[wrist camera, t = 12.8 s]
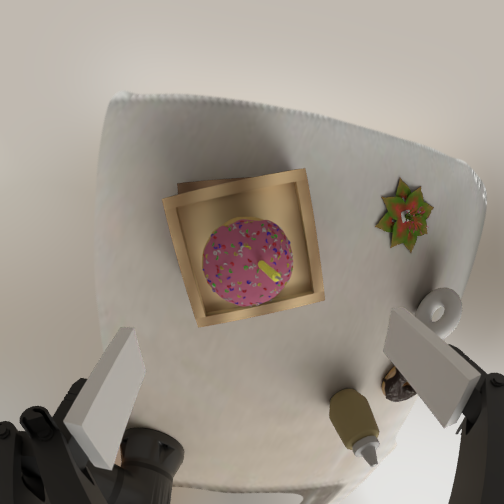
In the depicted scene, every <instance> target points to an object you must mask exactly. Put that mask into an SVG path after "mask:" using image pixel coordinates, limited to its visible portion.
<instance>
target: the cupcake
mask: <svg viewBox="0 0 504 504" xmlns="http://www.w3.org/2000/svg"><path fill="white" fill-rule="evenodd" d="M289 242H290V241H289V240H288V238H287V237H286V235H285V233H284V231H283V230H282V228H281V227H279V226H278V225H277V224H275V223H274V222H272V221H270V220H263V219H260V218H257V217H236V218H233V219H231V220H229V221H227V222H226V223H224V224H223V225H221V226H220V227H219V228H217V229H215V230H214V231H213V232H212V234H211V235H210V237H209V239H208V241H207V242H206V245H205V247H204V249H203V254H202V270H203V273H204V276H205V279H206V281H207V283H208V284H209V286H210V287H211V288H212V291H213V290H214V291H213V292H216V293H217V294H218V295H219V296H220V297H221V298H223V299H224V300H226V301H228V302H230V303H233V304H236V305H238V306H243V307H245V306H251V307H252V305H256V306H258V305H259V304H261V303H264V302H266V301H269V300H270V301H272V298H274V297H275V296H276V295H278V294H279V292H280V291H281V290H282V289H283V288H284V287H285V285H286V284H287V282H289V281H290V280H289V279H290V277H291V274H292V270H293V254H292V249H291V246H290V243H289Z"/></svg>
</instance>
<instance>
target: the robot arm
mask: <svg viewBox="0 0 504 504" xmlns="http://www.w3.org/2000/svg"><path fill="white" fill-rule="evenodd" d="M383 352H384V353H385V354H386V355H387V357H388V358H389V359H390V360H391V362H392V363H393V364H394V365H395V366H396V368H397V369H398V370H399V371H400V373H401V374H402V375H403V376H404V378H405V379H406V380H407V381H408V383H409V384H410V385H411V386H412V388H413V389H414V390H415V391H416V393H417V394H418V395H419V396H420V398H421V399H422V400H423V401H424V403H425V404H426V405H427V407H428V408H429V409H430V411H431V412H432V413H433V414H434V416H435V417H436V418H437V420H438V421H439V422H440V424H441V425H442V426H443V427H444V428H446V427H448V426H450V425H452V424H454V423H456V422H457V420H458V419H459V417H460V415H461V413H463V414H464V415H465V418H464V420H463V422H462V423H461V425H460V427H459V428H458V430H457V432H456V434H458V433H459V431H460V430H461V429H462V433H461V443H460V450H459V457H458V463H457V469H456V474H455V479H454V484H453V488H452V492H451V496H450V500H449V504H504V376H503V375H502V374H499V373H490V374H487V373H486V372H485V371H483V370H482V369H481V368H480V367H479V366H478V365H477V364H476V363H475V362H473V361H472V360H470V358H469V357H468V356H466V355H465V354H464V353H463V352H462V351H461V350H460V349H458V348H457V347H454V346H452V345H450V344H449V345H448V344H447V343H446V342H445V341H443V340H442V339H441V338H440V337H439V336H438V335H436V334H435V333H434V332H433V331H432V330H430V329H429V328H428V327H427V326H426V325H425V324H423V323H422V322H421V321H420V320H419V319H417V318H416V317H415V316H414V315H412V314H411V313H410V312H409V311H408V310H406V309H405V308H404V307H398V308H392V309H391V315H390V321H389V326H388V331H387V336H386V340H385V345H384V349H383ZM145 373H146V369H145V366H144V362H143V359H142V355H141V351H140V348H139V344H138V340H137V336H136V332H135V328H130V327H121V328H120V329H119V331H118V332H117V334H116V335H115V337H114V338H113V340H112V341H111V343H110V344H109V346H108V347H107V349H106V350H105V352H104V354H103V355H102V357H101V358H100V360H99V362H98V363H97V365H96V366H95V368H94V370H93V371H92V373H91V375H90V376H89V378H88V379H84V378H80V379H79V380H78V381H77V382H75V383H74V384H73V385H72V387H71V388H70V390H69V391H68V394H66V396H65V397H64V400H63V401H62V402H61V404H60V406H59V407H58V409H57V411H56V412H55V414H54V416H53V417H51V415H50V414H49V412H48V410H47V409H46V408H44V407H41V406H33V407H30V408H28V409H26V410H25V411H24V412H23V413H22V415H21V416H20V424H21V425H22V427H23V428H24V429H25V431H18V430H17V429H16V427H15V426H14V425H13V424H12V423H11V422H7V421H3V422H0V504H170V500H171V491H172V482H173V477H174V475H175V474H176V472H177V471H178V469H179V467H180V466H181V464H182V462H183V459H184V449H183V447H182V446H181V445H180V443H178V442H177V441H176V440H175V439H173V438H172V437H170V436H168V435H166V434H164V433H161V432H158V431H155V430H151V429H146V428H131V429H128V430H126V431H125V428H126V425H127V422H128V420H129V417H130V414H131V411H132V408H133V405H134V403H135V400H136V397H137V394H138V392H139V389H140V386H141V384H142V381H143V378H144V376H145ZM124 431H125V432H124ZM119 446H120V450H121V461H122V463H121V467H120V466H118V465H116V464H114V462H115V458H116V455H117V452H118V449H119Z"/></svg>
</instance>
